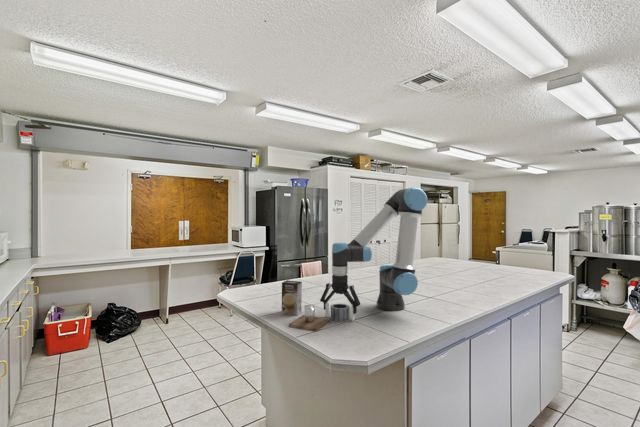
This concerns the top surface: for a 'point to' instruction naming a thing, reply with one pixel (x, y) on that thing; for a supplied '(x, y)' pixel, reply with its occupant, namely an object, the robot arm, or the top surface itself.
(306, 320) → the post
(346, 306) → the grey ribbed cylinder
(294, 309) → the coffee box
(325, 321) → the base
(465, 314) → the top surface
